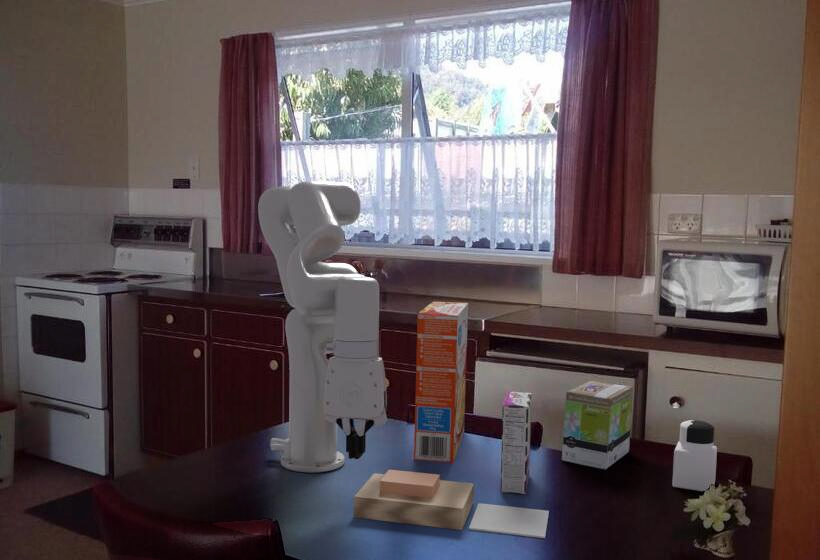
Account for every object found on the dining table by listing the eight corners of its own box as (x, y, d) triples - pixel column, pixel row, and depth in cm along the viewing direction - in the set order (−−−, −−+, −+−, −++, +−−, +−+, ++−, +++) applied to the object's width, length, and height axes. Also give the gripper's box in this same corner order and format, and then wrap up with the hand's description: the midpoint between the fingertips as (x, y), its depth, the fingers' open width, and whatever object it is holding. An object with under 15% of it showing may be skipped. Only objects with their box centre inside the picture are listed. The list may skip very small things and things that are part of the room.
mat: (468, 529, 124) (468, 527, 124) (478, 504, 135) (478, 503, 134) (545, 538, 121) (545, 536, 121) (548, 512, 132) (548, 510, 132)
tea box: (608, 471, 155) (612, 397, 153) (560, 461, 160) (563, 390, 159) (630, 452, 167) (633, 384, 166) (585, 444, 173) (588, 378, 171)
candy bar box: (503, 473, 151) (506, 390, 150) (529, 475, 151) (532, 392, 149) (498, 493, 141) (501, 404, 139) (526, 495, 140) (530, 406, 138)
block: (379, 492, 129) (379, 480, 129) (388, 480, 135) (389, 469, 135) (432, 498, 127) (432, 486, 127) (439, 486, 133) (439, 474, 133)
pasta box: (453, 462, 157) (457, 315, 155) (413, 459, 158) (417, 313, 156) (464, 431, 180) (468, 303, 177) (429, 429, 181) (433, 301, 178)
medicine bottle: (715, 482, 150) (718, 420, 149) (712, 493, 143) (716, 429, 142) (676, 475, 153) (679, 415, 152) (672, 487, 146) (675, 424, 145)
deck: (353, 517, 128) (354, 496, 127) (373, 492, 139) (374, 473, 139) (462, 529, 124) (462, 508, 123) (473, 503, 135) (473, 483, 135)
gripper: (306, 351, 129) (306, 459, 130) (393, 355, 126) (392, 466, 127) (322, 345, 137) (321, 448, 138) (404, 348, 133) (403, 454, 134)
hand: (355, 456), depth 132 cm, fingers closed
